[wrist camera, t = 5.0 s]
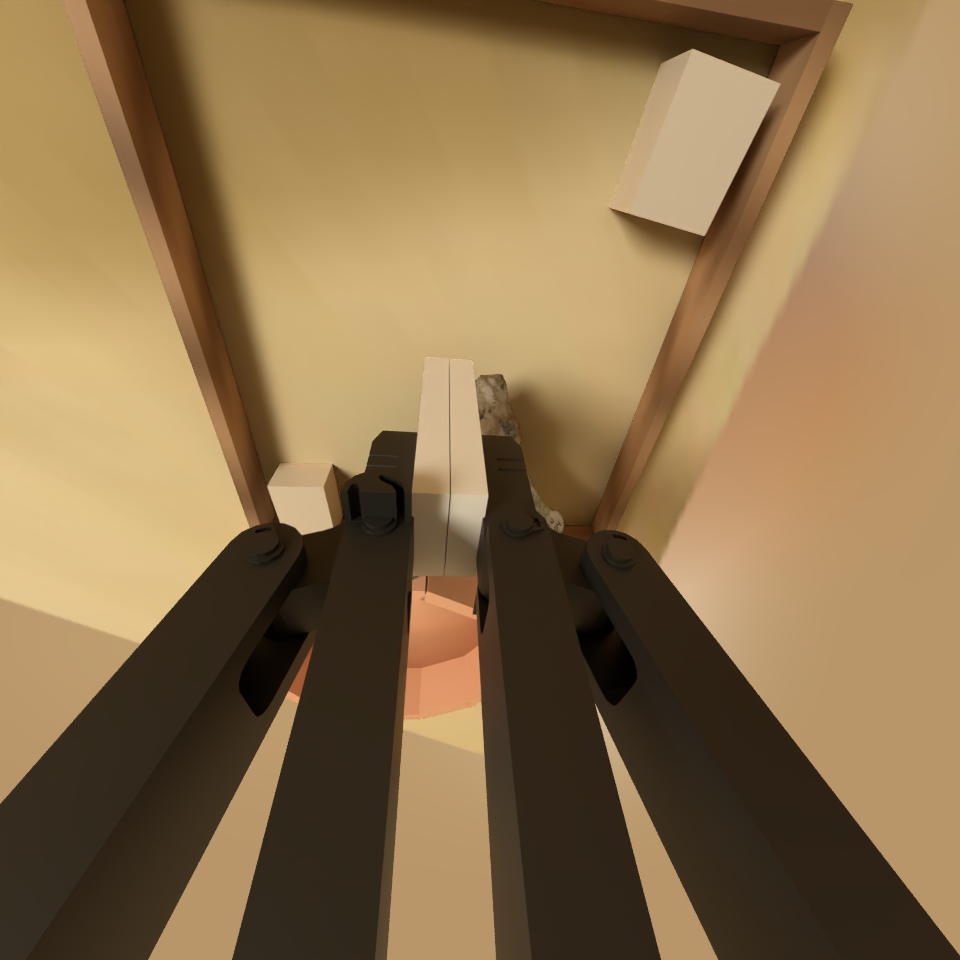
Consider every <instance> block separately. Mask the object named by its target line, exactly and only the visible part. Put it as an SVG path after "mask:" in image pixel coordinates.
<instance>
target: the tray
mask: <svg viewBox="0 0 960 960" xmlns="http://www.w3.org/2000/svg"><path fill="white" fill-rule="evenodd" d="M61 1H62V4H63V6H64V9H65V12H66V15H67V18H68V20H69V23H70V26H71V29H72V32H73V34H74V37H75V40H76V43H77V46H78V48H79V51H80V54H81V57H82V59H83V62H84V65H85V68H86V71H87V73H88V76H89V79H90V82H91V85H92V87H93V90H94V93H95V96H96V99H97V101H98V104H99V107H100V110H101V113H102V115H103V118H104V121H105V124H106V127H107V129H108V132H109V135H110V138H111V141H112V143H113V146H114V149H115V152H116V155H117V157H118V160H119V163H120V166H121V169H122V171H123V174H124V177H125V180H126V182H127V185H128V188H129V191H130V194H131V196H132V199H133V202H134V205H135V208H136V210H137V213H138V216H139V219H140V222H141V224H142V227H143V230H144V233H145V236H146V238H147V241H148V244H149V247H150V250H151V252H152V255H153V258H154V261H155V264H156V266H157V269H158V272H159V275H160V278H161V280H162V283H163V286H164V289H165V292H166V294H167V297H168V300H169V303H170V306H171V308H172V311H173V314H174V317H175V319H176V322H177V325H178V328H179V331H180V333H181V336H182V339H183V342H184V345H185V347H186V350H187V353H188V356H189V359H190V361H191V364H192V367H193V370H194V373H195V375H196V378H197V381H198V384H199V387H200V389H201V392H202V395H203V398H204V401H205V403H206V406H207V409H208V412H209V415H210V417H211V420H212V423H213V426H214V429H215V431H216V434H217V437H218V440H219V443H220V445H221V448H222V451H223V454H224V456H225V459H226V462H227V465H228V468H229V470H230V473H231V476H232V479H233V482H234V484H235V487H236V490H237V493H238V496H239V498H240V501H241V504H242V507H243V510H244V512H245V515H246V518H247V521H248V524H249V526H250V528H252V527H254V526H256V525H261V524H265V523H270V522H272V523H280V521H279V518H278V516H275V514H274V510H273V507H272V503H271V500H270V497H269V493H268V490H267V486H266V483H265V480H264V476H263V473H262V469H261V466H260V463H259V459H258V456H257V452H256V449H255V446H254V442H253V439H252V435H251V432H250V429H249V425H248V422H247V418H246V415H245V412H244V408H243V405H242V402H241V398H240V395H239V391H238V388H237V385H236V381H235V378H234V374H233V371H232V368H231V364H230V361H229V357H228V354H227V351H226V347H225V344H224V340H223V337H222V334H221V330H220V327H219V323H218V320H217V317H216V313H215V310H214V306H213V303H212V300H211V296H210V293H209V289H208V286H207V283H206V279H205V276H204V272H203V269H202V266H201V262H200V259H199V255H198V252H197V249H196V245H195V242H194V238H193V235H192V232H191V228H190V225H189V221H188V218H187V215H186V211H185V208H184V204H183V201H182V198H181V194H180V191H179V187H178V184H177V181H176V177H175V174H174V171H173V167H172V164H171V160H170V157H169V154H168V150H167V147H166V143H165V140H164V137H163V133H162V130H161V126H160V123H159V120H158V116H157V113H156V109H155V106H154V103H153V99H152V96H151V92H150V89H149V86H148V82H147V79H146V75H145V72H144V69H143V65H142V62H141V58H140V55H139V52H138V48H137V45H136V41H135V38H134V35H133V31H132V28H131V24H130V21H129V18H128V14H127V11H126V7H125V4H124V1H123V0H61ZM536 1H541V2H547V3H552V4H558V5H563V6H568V7H574V8H579V9H585V10H590V11H595V12H601V13H606V14H612V15H617V16H623V17H628V18H633V19H639V20H644V21H650V22H655V23H660V24H666V25H671V26H677V27H682V28H688V29H693V30H698V31H704V32H709V33H715V34H720V35H725V36H731V37H736V38H742V39H747V40H753V41H758V42H763V43H769V44H774V45H780V48H779V50H778V53H777V55H776V58H775V60H774V63H773V65H772V68H771V71H770V73H769V76H768V78H767V79H770V80H772V81H775V82H778V83H780V86H779V88H778V90H777V92H776V94H775V96H774V98H773V100H772V102H771V104H770V106H769V108H768V110H767V112H766V114H765V116H764V118H763V120H762V122H761V124H760V126H759V128H758V130H757V132H756V134H755V136H754V138H753V140H752V142H751V144H750V146H749V148H748V150H747V152H746V154H745V156H744V158H743V160H742V162H741V164H740V166H739V168H738V170H737V172H736V174H735V176H734V178H733V180H732V182H731V184H730V186H729V188H728V190H727V192H726V194H725V196H724V198H723V200H722V202H721V204H720V206H719V208H718V210H717V212H716V214H715V216H714V218H713V220H712V222H711V224H710V226H709V228H708V231H707V233H706V236H705V238H704V241H703V243H702V246H701V248H700V251H699V253H698V256H697V258H696V261H695V264H694V266H693V269H692V271H691V274H690V276H689V279H688V281H687V284H686V286H685V289H684V291H683V294H682V297H681V299H680V302H679V304H678V307H677V309H676V312H675V314H674V317H673V319H672V322H671V324H670V327H669V330H668V332H667V335H666V337H665V340H664V342H663V345H662V347H661V350H660V352H659V355H658V357H657V360H656V363H655V365H654V368H653V370H652V373H651V375H650V378H649V380H648V383H647V385H646V388H645V390H644V393H643V396H642V398H641V401H640V403H639V406H638V408H637V411H636V413H635V416H634V418H633V421H632V423H631V426H630V429H629V431H628V434H627V436H626V439H625V441H624V444H623V446H622V449H621V451H620V454H619V456H618V459H617V462H616V464H615V467H614V469H613V472H612V474H611V477H610V479H609V482H608V484H607V487H606V489H605V492H604V495H603V497H602V500H601V502H600V505H599V507H598V510H597V512H596V515H595V517H594V520H593V522H592V525H591V526H566V525H564V527H563V531H562V534H565V535H567V536H571V537H574V538H578V539H581V540H585V541H587V540H588V539H589V538H590V537H591V536H592V534H593V533H596V532H599V531H601V530H616V528H617V526H618V524H619V522H620V519H621V517H622V515H623V513H624V510H625V508H626V506H627V504H628V502H629V499H630V497H631V495H632V493H633V491H634V488H635V486H636V484H637V482H638V479H639V477H640V475H641V473H642V471H643V468H644V466H645V464H646V462H647V460H648V457H649V455H650V453H651V451H652V449H653V446H654V444H655V442H656V440H657V437H658V435H659V433H660V431H661V429H662V426H663V424H664V422H665V420H666V418H667V415H668V413H669V411H670V409H671V406H672V404H673V402H674V400H675V398H676V395H677V393H678V391H679V389H680V387H681V384H682V382H683V380H684V378H685V375H686V373H687V371H688V369H689V367H690V364H691V362H692V360H693V358H694V356H695V353H696V351H697V349H698V347H699V344H700V342H701V340H702V338H703V336H704V333H705V331H706V329H707V327H708V325H709V322H710V320H711V318H712V316H713V314H714V311H715V309H716V307H717V305H718V302H719V300H720V298H721V296H722V294H723V291H724V289H725V287H726V285H727V283H728V280H729V278H730V276H731V274H732V271H733V269H734V267H735V265H736V263H737V260H738V258H739V256H740V254H741V252H742V249H743V247H744V245H745V243H746V240H747V238H748V236H749V234H750V232H751V229H752V227H753V225H754V223H755V221H756V218H757V216H758V214H759V212H760V210H761V207H762V205H763V203H764V201H765V198H766V196H767V194H768V192H769V190H770V187H771V185H772V183H773V181H774V179H775V176H776V174H777V172H778V170H779V167H780V165H781V163H782V161H783V159H784V156H785V154H786V152H787V150H788V148H789V145H790V143H791V141H792V139H793V136H794V134H795V132H796V130H797V128H798V125H799V123H800V121H801V119H802V117H803V114H804V112H805V110H806V108H807V106H808V103H809V101H810V99H811V97H812V94H813V92H814V90H815V88H816V86H817V83H818V81H819V79H820V77H821V75H822V72H823V70H824V68H825V66H826V63H827V61H828V59H829V57H830V55H831V52H832V50H833V48H834V46H835V44H836V41H837V39H838V37H839V35H840V32H841V30H842V28H843V26H844V24H845V21H846V19H847V17H848V15H849V13H850V10H851V8H852V6H853V4H851V3H846V2H841V1H836V0H536ZM344 521H345V518H342V522H344ZM342 522H341V523H342Z"/></svg>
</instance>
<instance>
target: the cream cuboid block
mask: <svg viewBox="0 0 960 960" xmlns="http://www.w3.org/2000/svg"><path fill="white" fill-rule="evenodd" d="M267 487H268V490H269V493H270V496H271V499H272V501H273V504H274V507H275V510H276V513H277V516H278V518H279V521H280V523H285V524H287V525H290V526H292V527H295V528H296V529H297V530H298V531H299V533H300V534H301V535H305V534H309V533H314V532H318V531H323V530H326V529H329V528H333V527H335V526H337V525H339V524H341V522H342V518H343V512H342V507H341V503H340V498H339V493H338V488H337V484H336V479H335V474H334V469H333V465H332V464H308V463H280V464H279V466H278V468H277V470H276V471H275V473H274V475H273V477H272V479H271V480H270V482H269V484H268V486H267Z"/></svg>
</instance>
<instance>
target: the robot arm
mask: <svg viewBox="0 0 960 960" xmlns="http://www.w3.org/2000/svg"><path fill="white" fill-rule="evenodd" d="M341 497H342V504H343V510H344V516H345V521H344V522H342V523H341V524H339V525H337V526H335V527H333V528H329V529H326V530H323V531H318V532H314V533H309V534H305V535H301V534H300V533H299V531H298V530H297V529H296V528H295V527H292V526H290V525H287V524H285V523H272V522H270V523H265V524H261V525H256V526H254V527H252V528H249V529H247V530H245V531H243V532H241V533H240V534H239V535H238V536H237V537H235V538H234V539H233V540H232V541H231V542H230V543H229V544H228V545H227V546H226V547H225V549H224V550H223V551H222V552H221V553H220V554H219V555H218V557H217V558H216V559H215V560H214V561H213V562H212V563H211V565H210V566H209V567H208V568H207V569H206V570H205V571H204V572H203V574H202V575H201V576H200V577H199V578H198V579H197V580H196V582H195V583H194V584H193V585H192V586H191V587H190V588H189V590H188V591H187V592H186V593H185V594H184V595H183V596H182V598H181V599H180V600H179V601H178V602H177V603H176V604H175V606H174V607H173V608H172V609H171V610H170V611H169V612H168V614H167V615H166V616H165V617H164V618H163V619H162V620H161V622H160V623H159V624H158V625H157V626H156V627H155V628H154V629H153V631H152V632H151V633H150V634H149V635H148V636H147V637H146V639H145V640H144V641H143V642H142V643H141V644H140V646H139V647H138V648H137V649H136V650H135V651H134V652H133V653H132V655H131V656H130V657H129V658H128V659H127V660H126V661H125V663H124V664H123V665H122V666H121V667H120V668H119V669H118V671H117V672H116V673H115V674H114V675H113V676H112V677H111V679H110V680H109V681H108V682H107V683H106V684H105V686H103V688H102V689H101V690H100V691H99V692H98V694H97V695H96V696H95V697H94V698H93V699H92V700H91V701H90V702H89V704H88V705H87V706H86V707H85V708H84V709H83V710H82V712H81V713H80V714H79V715H78V716H77V717H76V718H75V720H74V721H73V722H72V723H71V724H70V725H69V726H68V728H67V729H66V730H65V731H64V732H63V733H62V734H61V736H60V737H59V738H58V739H57V740H56V742H54V744H53V745H52V746H51V747H50V748H49V749H48V750H47V751H46V753H45V754H44V755H43V756H42V757H41V759H40V760H39V761H38V762H37V763H36V764H35V765H34V766H33V767H32V769H31V770H30V771H29V772H28V773H27V774H26V775H25V777H24V778H23V779H22V780H21V781H20V782H19V783H18V785H17V786H16V787H15V788H14V789H13V790H12V791H11V793H10V794H9V795H8V796H7V797H6V798H5V799H4V801H3V802H2V803H1V804H0V960H148V959H149V957H150V955H151V953H152V951H153V949H154V947H155V945H156V943H157V941H158V940H159V938H160V936H161V934H162V932H163V930H164V928H165V926H166V924H167V922H168V921H169V919H170V917H171V915H172V913H173V911H174V909H175V907H176V905H177V903H178V901H179V899H180V898H181V896H182V894H183V892H184V890H185V888H186V886H187V884H188V882H189V880H190V878H191V876H192V875H193V873H194V871H195V869H196V867H197V865H198V863H199V861H200V859H201V857H202V855H203V853H204V852H205V850H206V848H207V846H208V844H209V842H210V840H211V838H212V836H213V835H214V833H215V831H216V829H217V827H218V825H219V823H220V821H221V819H222V817H223V815H224V813H225V812H226V810H227V808H228V806H229V804H230V802H231V800H232V798H233V796H234V794H235V792H236V790H237V789H238V787H239V785H240V783H241V781H242V779H243V777H244V775H245V773H246V771H247V770H248V768H249V766H250V764H251V762H252V760H253V758H254V756H255V754H256V752H257V750H258V749H259V747H260V745H261V743H262V741H263V739H264V737H265V735H266V733H267V731H268V729H269V727H270V726H271V723H272V722H273V720H274V718H275V716H276V714H277V712H278V710H279V708H280V706H281V705H282V703H283V701H284V699H285V697H286V695H287V693H288V691H289V689H290V687H291V685H292V684H293V682H294V680H295V678H296V676H297V674H298V672H299V670H300V668H301V666H302V664H303V663H304V661H305V659H306V657H307V655H308V653H309V651H310V649H311V647H312V645H313V643H314V645H313V649H312V653H311V656H310V660H309V664H308V668H307V672H306V676H305V680H304V684H303V687H302V691H301V695H300V699H299V703H298V707H297V711H296V715H295V719H294V723H293V726H292V730H291V734H290V738H289V742H288V745H287V749H286V753H285V757H284V761H283V765H282V769H281V773H280V776H279V781H278V784H277V788H276V792H275V796H274V800H273V804H272V808H271V811H270V815H269V819H268V823H267V827H266V831H265V834H264V838H263V842H262V847H261V850H260V854H259V858H258V862H257V865H256V869H255V874H254V877H253V881H252V885H251V889H250V893H249V896H248V900H247V904H246V908H245V912H244V916H243V920H242V923H241V928H240V932H239V935H238V939H237V943H236V947H235V951H234V954H233V958H232V960H386V959H387V947H388V946H387V945H388V931H389V918H390V903H391V889H392V875H393V861H394V846H395V831H396V819H397V804H398V789H399V776H400V762H401V746H402V733H403V719H404V704H405V690H406V676H407V662H408V647H409V633H410V619H411V605H412V578H413V576H443V575H444V576H459V577H475V574H476V568H477V579H478V585H477V591H476V597H475V602H474V608H473V614H472V615H477V632H478V650H479V667H480V684H481V702H482V719H483V737H484V754H485V771H486V789H487V806H488V822H489V823H488V824H489V841H490V859H491V875H492V893H493V911H494V928H495V945H496V960H661V958H660V954H659V950H658V946H657V943H656V939H655V935H654V931H653V927H652V923H651V919H650V915H649V912H648V907H647V903H646V900H645V896H644V892H643V888H642V884H641V880H640V877H639V873H638V869H637V865H636V861H635V857H634V854H633V849H632V845H631V842H630V838H629V834H628V830H627V826H626V822H625V818H624V814H623V811H622V807H621V803H620V799H619V795H618V791H617V787H616V783H615V780H614V776H613V772H612V768H611V764H610V760H609V757H608V753H607V749H606V745H605V741H604V737H603V733H602V730H601V726H600V722H599V718H598V714H597V710H596V706H597V708H598V710H599V712H600V714H601V716H602V718H603V720H604V722H605V725H606V726H607V729H608V731H609V733H610V735H611V737H612V739H613V741H614V743H615V745H616V747H617V750H618V752H619V754H620V756H621V758H622V760H623V762H624V764H625V766H626V768H627V770H628V772H629V775H630V777H631V779H632V781H633V783H634V785H635V787H636V789H637V791H638V793H639V795H640V797H641V799H642V802H643V804H644V806H645V808H646V810H647V812H648V814H649V816H650V818H651V820H652V822H653V824H654V827H655V828H656V831H657V832H658V835H659V837H660V839H661V841H662V843H663V845H664V847H665V850H666V851H667V854H668V856H669V858H670V860H671V862H672V864H673V866H674V868H675V870H676V872H677V874H678V877H679V879H680V881H681V883H682V885H683V887H684V889H685V891H686V893H687V895H688V897H689V900H690V902H691V903H692V906H693V908H694V910H695V912H696V914H697V916H698V918H699V920H700V922H701V924H702V927H703V928H704V931H705V933H706V935H707V937H708V939H709V941H710V943H711V945H712V947H713V950H714V952H715V954H716V956H717V958H718V960H960V955H959V954H958V953H957V951H956V950H955V949H954V948H953V946H952V945H951V944H950V942H949V941H948V940H947V938H946V937H945V936H944V935H943V933H942V932H941V931H940V929H939V928H938V927H937V926H936V924H935V923H934V922H933V920H932V919H931V918H930V916H929V915H928V914H927V913H926V911H925V910H924V909H923V908H922V906H921V905H920V903H918V901H917V900H916V898H915V897H914V896H913V894H912V893H911V892H910V891H909V889H908V888H907V887H906V885H905V884H904V883H903V882H902V880H901V879H900V878H899V876H898V875H897V874H896V872H895V871H894V870H893V869H892V867H891V866H890V865H889V863H888V862H887V861H886V860H885V858H884V857H883V856H882V854H881V853H880V852H879V850H878V849H877V848H876V846H875V845H874V844H873V843H872V841H871V840H870V839H869V837H868V836H867V835H866V834H865V832H864V831H863V830H862V828H861V827H860V826H859V824H858V823H857V822H856V821H855V820H854V818H853V817H852V816H851V814H850V813H849V812H848V810H847V809H846V808H845V806H844V805H843V804H842V802H841V801H840V800H839V799H838V797H837V796H836V795H835V793H834V792H833V791H832V789H831V788H830V787H829V786H828V784H827V783H826V782H825V781H824V779H823V778H822V777H821V775H820V774H819V773H818V771H817V770H816V769H815V768H814V766H813V765H812V764H811V762H810V761H809V760H808V758H807V757H806V756H805V754H804V753H803V752H802V751H801V749H800V748H799V747H798V746H797V744H796V743H795V742H794V740H793V739H792V738H791V736H790V735H789V734H788V732H787V731H786V730H785V729H784V727H783V726H782V725H781V723H780V722H779V721H778V720H777V718H776V717H775V716H774V715H773V713H772V712H771V710H770V709H769V708H768V707H767V705H766V704H765V703H764V701H763V700H762V699H761V698H760V696H759V695H758V694H757V692H756V691H755V690H754V688H753V687H752V686H751V685H750V684H749V682H748V681H747V679H746V678H745V677H744V675H743V674H742V673H741V672H740V670H739V669H738V668H737V666H736V665H735V664H734V662H733V661H732V660H731V659H730V658H729V656H728V655H727V653H726V652H725V651H724V650H723V648H722V647H721V646H720V644H719V643H718V642H717V640H716V639H715V638H714V637H713V635H712V634H711V633H710V632H709V630H708V629H707V628H706V626H705V625H704V624H703V622H702V621H701V620H700V619H699V617H698V616H697V615H696V613H695V612H694V611H693V609H692V608H691V607H690V606H689V604H688V603H687V602H686V600H685V599H684V598H683V596H682V595H681V594H680V593H679V591H678V590H677V589H676V587H675V586H674V585H673V583H672V582H671V581H670V580H669V578H668V577H667V576H666V575H665V573H664V572H663V571H662V569H661V568H660V567H659V565H658V564H657V563H656V561H655V560H654V559H653V558H652V556H651V555H650V554H649V552H648V551H647V550H646V548H644V547H643V546H642V545H641V544H640V543H639V542H638V541H637V540H636V539H634V538H632V537H631V536H629V535H627V534H625V533H622V532H618V531H615V530H601V531H599V532H596V533H593V534H592V536H591V537H590V538H589V539H588V540H587V541H585V540H581V539H578V538H574V537H571V536H567V535H565V534H562V533H559V532H557V531H555V530H553V529H552V528H550V527H549V525H548V524H547V522H546V520H545V518H544V517H543V516H542V515H541V514H539V513H538V512H537V511H536V508H535V504H534V500H533V496H532V492H531V487H530V483H529V479H528V475H527V472H526V467H525V463H524V458H523V454H522V450H521V447H520V446H519V445H518V444H517V442H516V441H515V440H514V439H513V438H512V437H511V436H495V435H481V429H480V420H479V411H478V403H477V394H476V386H475V377H474V369H473V360H465V359H452V358H439V357H426V356H425V364H424V374H423V384H422V394H421V404H420V415H419V425H418V433H417V432H398V431H382V432H381V433H380V434H379V435H378V436H377V437H376V438H375V439H374V440H373V442H372V446H371V450H370V456H369V458H368V462H367V467H366V470H365V473H362V474H359V475H356V476H354V477H353V478H351V479H350V480H349V481H347V482H346V483H345V485H344V486H343V488H342V490H341ZM595 704H596V706H595Z"/></svg>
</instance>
